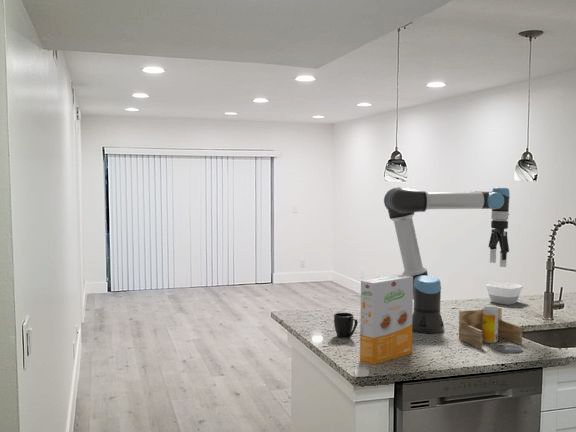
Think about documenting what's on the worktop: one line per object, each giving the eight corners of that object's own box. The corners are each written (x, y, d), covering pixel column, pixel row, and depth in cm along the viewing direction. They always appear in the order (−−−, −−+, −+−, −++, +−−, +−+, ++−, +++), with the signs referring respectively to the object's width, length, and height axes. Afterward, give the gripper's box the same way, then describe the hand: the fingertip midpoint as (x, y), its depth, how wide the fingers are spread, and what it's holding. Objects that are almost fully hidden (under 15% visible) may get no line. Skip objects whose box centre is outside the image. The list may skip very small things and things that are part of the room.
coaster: (506, 354, 225) (506, 352, 225) (490, 347, 235) (490, 345, 235) (528, 351, 228) (528, 350, 228) (511, 344, 238) (511, 343, 238)
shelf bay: (479, 348, 233) (480, 318, 232) (458, 338, 247) (459, 310, 246) (521, 344, 239) (522, 315, 238) (499, 335, 253) (499, 307, 252)
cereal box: (399, 349, 231) (400, 274, 229) (411, 352, 226) (413, 276, 225) (360, 360, 217) (360, 280, 215) (372, 364, 212) (373, 283, 210)
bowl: (497, 297, 334) (498, 281, 333) (527, 302, 320) (527, 285, 319) (480, 301, 322) (481, 284, 321) (510, 307, 309) (511, 289, 308)
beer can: (485, 338, 247) (486, 303, 246) (499, 341, 243) (500, 305, 242) (479, 341, 242) (480, 306, 242) (494, 344, 239) (495, 308, 238)
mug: (348, 342, 241) (348, 319, 240) (330, 335, 251) (330, 314, 250) (363, 339, 246) (363, 317, 245) (344, 333, 255) (344, 311, 255)
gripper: (518, 222, 263) (515, 268, 265) (498, 218, 288) (496, 261, 289) (501, 221, 263) (499, 268, 265) (483, 218, 288) (481, 260, 289)
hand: (497, 264), depth 277 cm, fingers open, 13 cm apart
